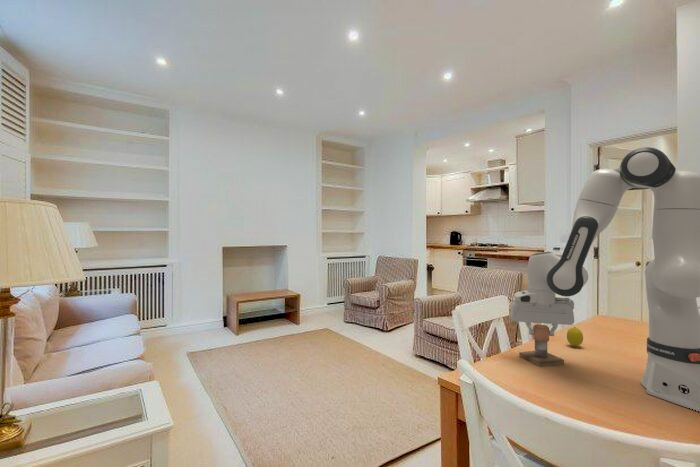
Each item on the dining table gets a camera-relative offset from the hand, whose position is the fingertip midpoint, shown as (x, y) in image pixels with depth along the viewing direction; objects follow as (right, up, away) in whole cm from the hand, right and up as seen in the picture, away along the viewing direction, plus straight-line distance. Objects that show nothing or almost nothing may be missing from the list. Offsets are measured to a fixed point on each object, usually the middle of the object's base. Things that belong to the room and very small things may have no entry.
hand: (541, 334), depth 122 cm
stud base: (0, -9, 0) cm, 9 cm away
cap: (0, -2, 0) cm, 2 cm away
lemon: (+21, -9, +14) cm, 27 cm away
